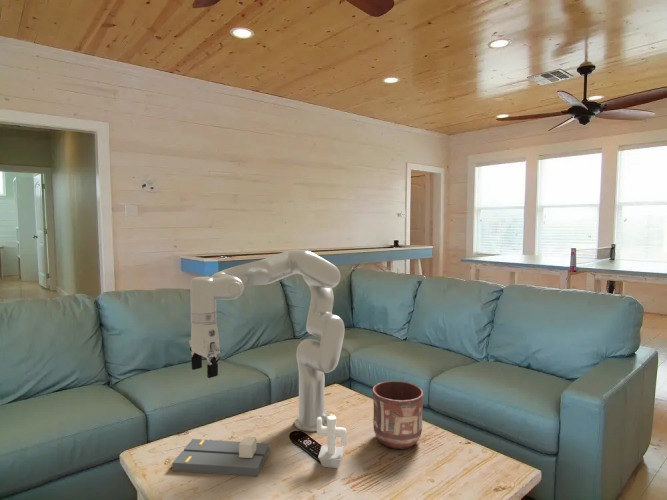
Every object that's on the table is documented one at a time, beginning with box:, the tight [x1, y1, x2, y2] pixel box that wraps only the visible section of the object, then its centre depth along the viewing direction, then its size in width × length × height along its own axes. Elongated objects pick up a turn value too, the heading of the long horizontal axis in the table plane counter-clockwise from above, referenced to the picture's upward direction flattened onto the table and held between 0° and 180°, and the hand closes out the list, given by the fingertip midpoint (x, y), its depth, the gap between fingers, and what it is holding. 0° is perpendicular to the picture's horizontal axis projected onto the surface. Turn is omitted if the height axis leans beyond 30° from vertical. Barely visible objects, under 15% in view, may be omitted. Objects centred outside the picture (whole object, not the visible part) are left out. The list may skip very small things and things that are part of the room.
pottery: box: [371, 380, 425, 450], centre depth 143 cm, size 18×18×18 cm
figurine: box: [316, 414, 348, 469], centre depth 129 cm, size 7×9×15 cm
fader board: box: [171, 438, 270, 477], centre depth 131 cm, size 26×14×3 cm, turn 85°
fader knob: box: [239, 436, 257, 458], centre depth 130 cm, size 4×5×5 cm
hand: (204, 372), depth 128 cm, fingers open, 9 cm apart
